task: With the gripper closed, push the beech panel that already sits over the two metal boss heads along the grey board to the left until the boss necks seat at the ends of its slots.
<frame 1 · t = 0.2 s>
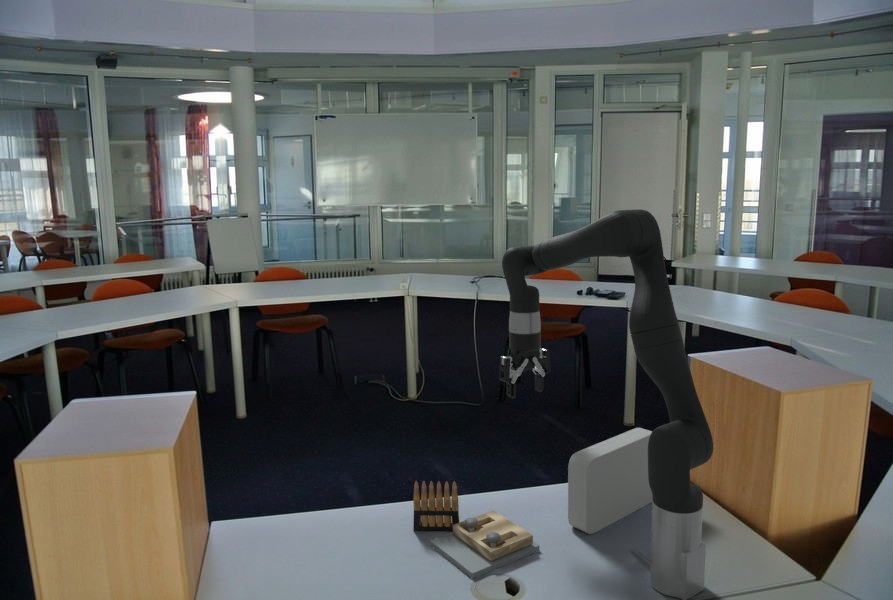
hand: (525, 394, 162), 28 cm above the table, tool pointing down, fingers open, 8 cm apart
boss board: (484, 547, 146), on the table
ammunition clip: (436, 530, 155), on the table
rounded white slab: (615, 514, 160), on the table
beech panel: (492, 534, 147), point 2 cm above the table, slide at 0.0 cm
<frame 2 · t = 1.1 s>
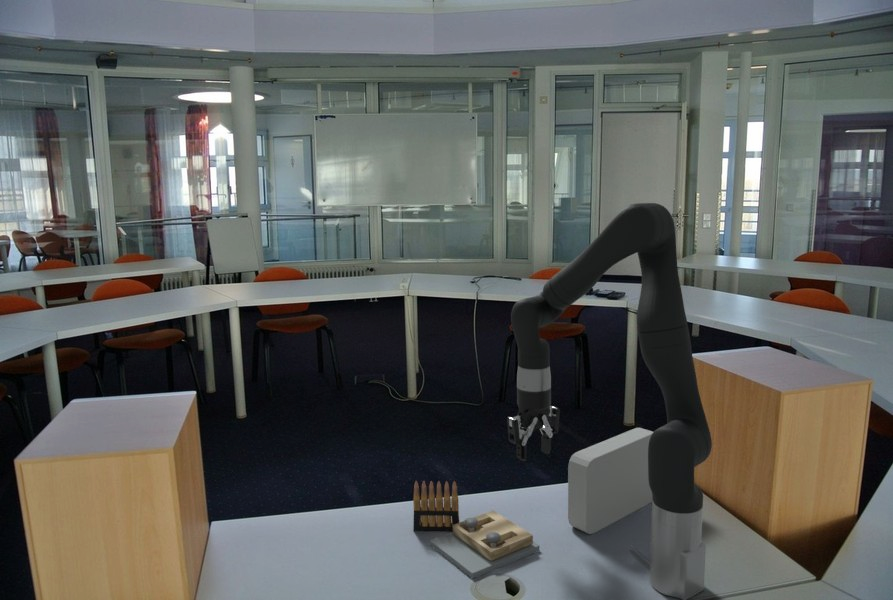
hand: (534, 455, 151), 18 cm above the table, tool pointing down, fingers open, 6 cm apart
nothing on the table moved.
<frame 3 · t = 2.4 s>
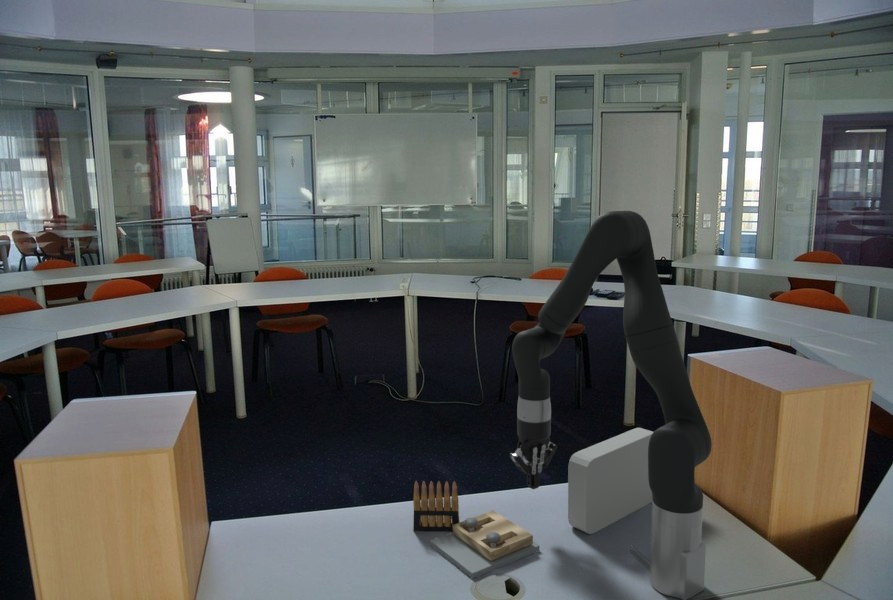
hand: (533, 487, 152), 10 cm above the table, tool pointing down, fingers closed
nothing on the table moved.
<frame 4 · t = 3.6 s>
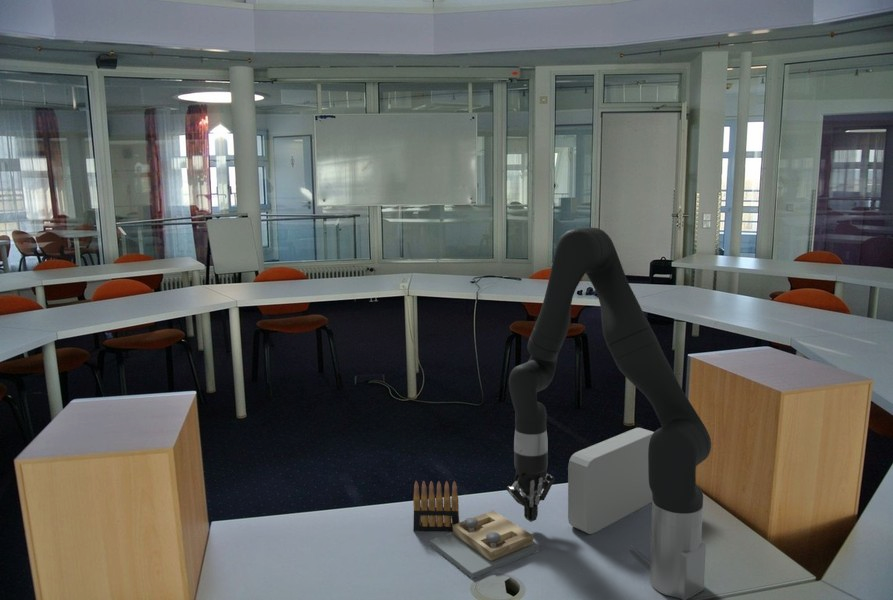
hand: (531, 519, 153), 2 cm above the table, tool pointing down, fingers closed
nothing on the table moved.
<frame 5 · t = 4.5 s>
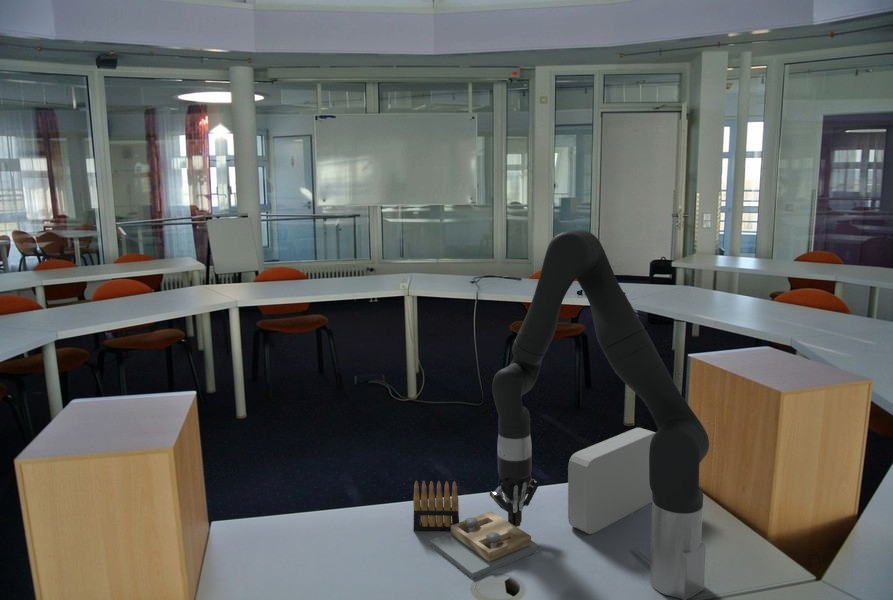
hand: (515, 525, 151), 2 cm above the table, tool pointing down, fingers closed
beech panel: (490, 534, 147), point 3 cm above the table, slide at 0.5 cm, touching gripper
everything else where it was.
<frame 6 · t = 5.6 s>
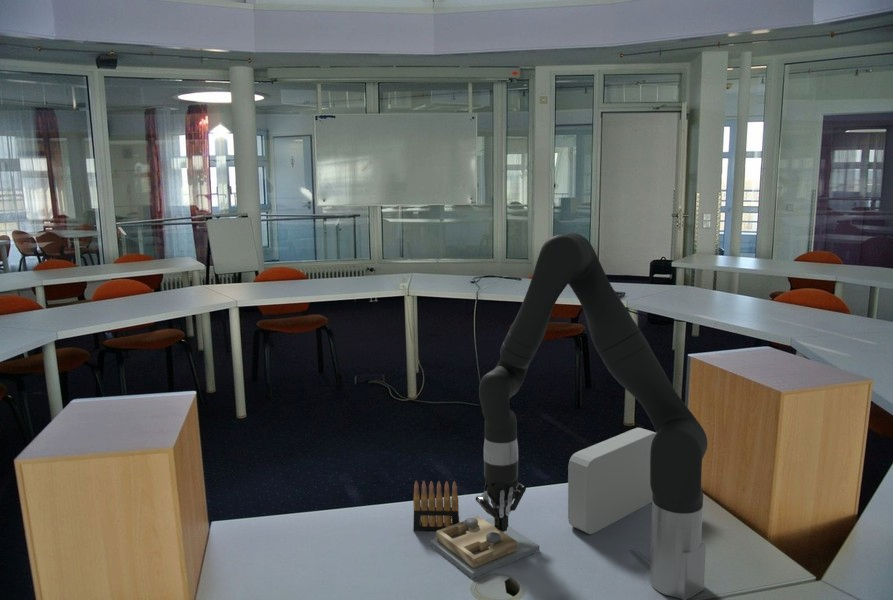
hand: (501, 530, 148), 2 cm above the table, tool pointing down, fingers closed
beech panel: (476, 540, 144), point 2 cm above the table, slide at 4.4 cm, touching gripper
everything else where it was.
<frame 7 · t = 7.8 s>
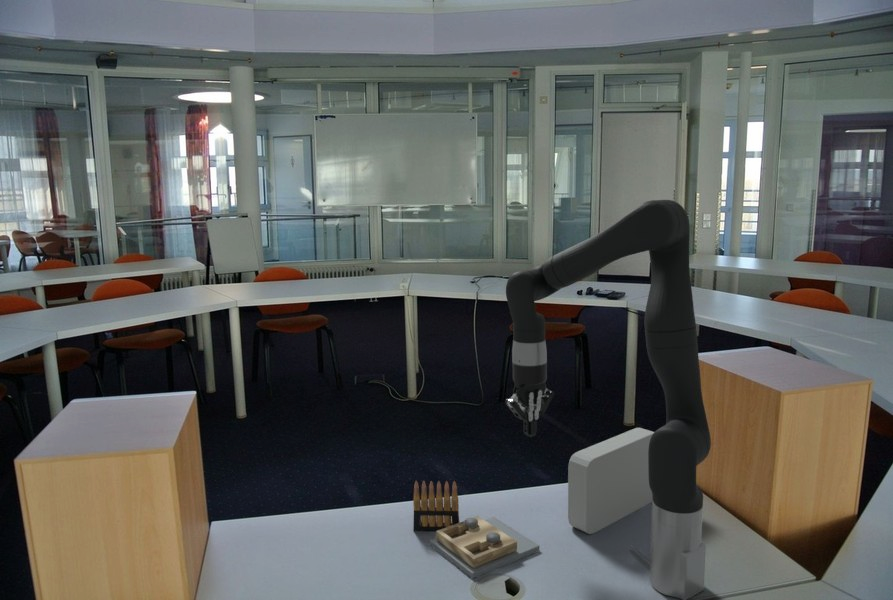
hand: (530, 435, 149), 23 cm above the table, tool pointing down, fingers closed
beech panel: (476, 540, 144), point 3 cm above the table, slide at 4.4 cm
everything else where it was.
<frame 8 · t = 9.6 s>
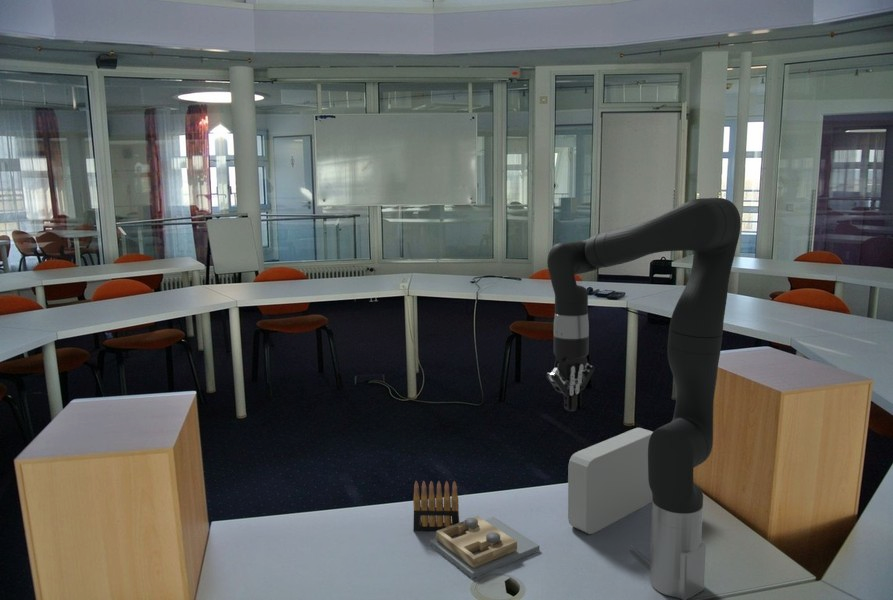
hand: (570, 410, 147), 29 cm above the table, tool pointing down, fingers closed
nothing on the table moved.
at the end: beech panel slide at 4.4 cm; beech panel touching nothing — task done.
